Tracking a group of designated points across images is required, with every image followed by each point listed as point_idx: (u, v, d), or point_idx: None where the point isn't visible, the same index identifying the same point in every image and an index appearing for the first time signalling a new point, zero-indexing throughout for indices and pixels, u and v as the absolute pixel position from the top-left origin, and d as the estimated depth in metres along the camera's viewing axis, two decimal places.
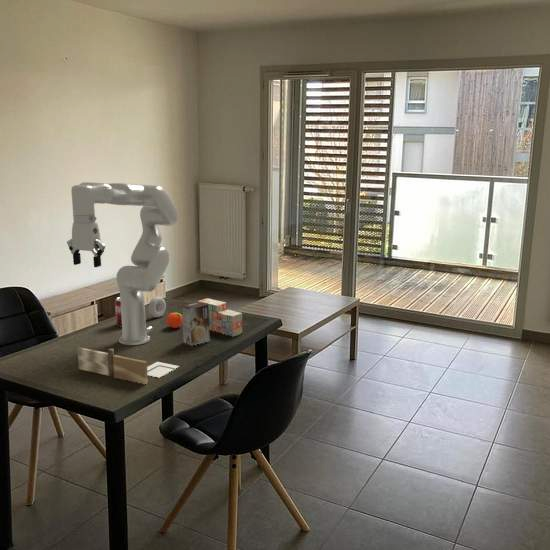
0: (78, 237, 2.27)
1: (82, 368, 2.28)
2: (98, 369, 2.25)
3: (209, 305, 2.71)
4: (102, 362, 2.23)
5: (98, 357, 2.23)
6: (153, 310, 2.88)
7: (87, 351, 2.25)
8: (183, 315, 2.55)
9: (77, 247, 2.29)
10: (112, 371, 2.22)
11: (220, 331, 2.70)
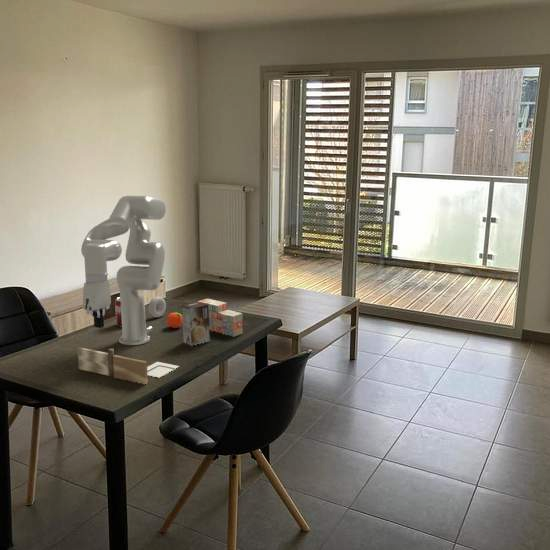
0: (100, 296, 2.24)
1: (82, 368, 2.28)
2: (98, 369, 2.25)
3: (209, 305, 2.71)
4: (102, 362, 2.23)
5: (98, 357, 2.23)
6: (153, 310, 2.88)
7: (87, 351, 2.25)
8: (183, 315, 2.55)
9: (98, 307, 2.24)
10: (112, 371, 2.22)
11: (220, 331, 2.69)
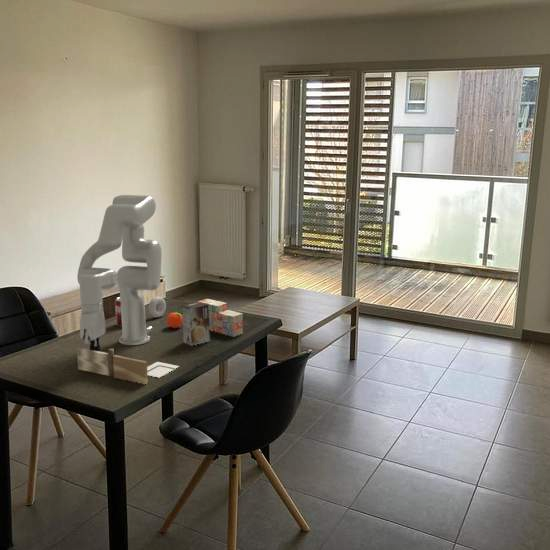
0: (97, 325, 2.24)
1: (81, 368, 2.28)
2: (97, 369, 2.25)
3: (209, 305, 2.71)
4: (102, 362, 2.23)
5: (98, 357, 2.23)
6: (153, 310, 2.88)
7: (87, 351, 2.25)
8: (183, 315, 2.55)
9: (95, 336, 2.24)
10: (112, 371, 2.22)
11: (221, 331, 2.69)
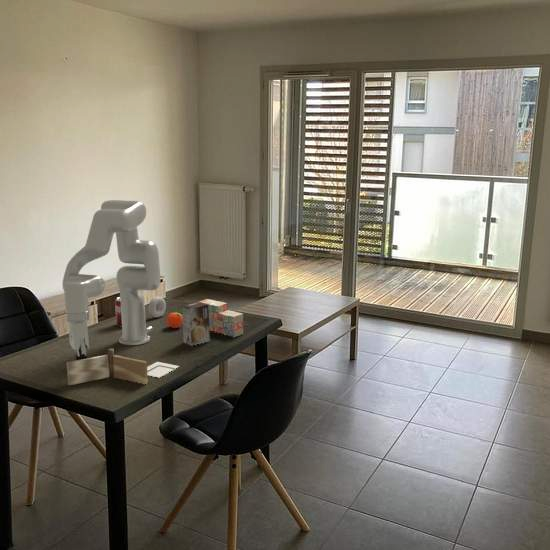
0: None
1: (74, 382, 2.15)
2: (96, 376, 2.19)
3: (210, 306, 2.70)
4: (101, 366, 2.20)
5: (97, 362, 2.18)
6: (153, 310, 2.88)
7: (81, 361, 2.15)
8: (183, 315, 2.55)
9: None
10: (112, 371, 2.22)
11: (221, 332, 2.69)
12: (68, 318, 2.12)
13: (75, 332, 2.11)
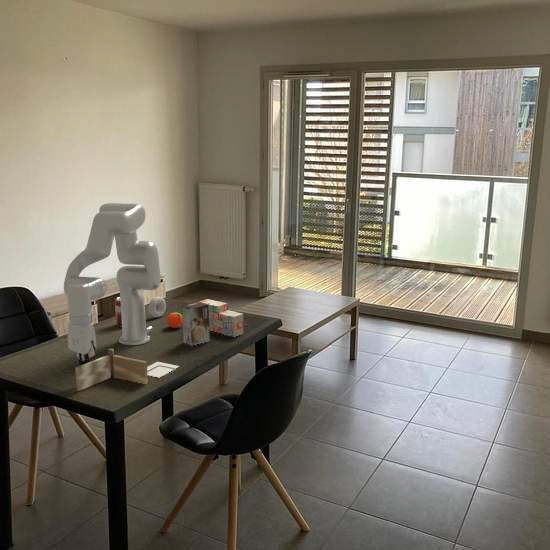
0: None
1: (83, 387, 2.12)
2: (100, 377, 2.18)
3: (210, 306, 2.70)
4: (104, 367, 2.19)
5: (101, 364, 2.17)
6: (153, 310, 2.88)
7: (89, 365, 2.12)
8: (183, 315, 2.55)
9: None
10: (112, 371, 2.22)
11: (221, 332, 2.69)
12: (75, 322, 2.08)
13: (85, 335, 2.08)
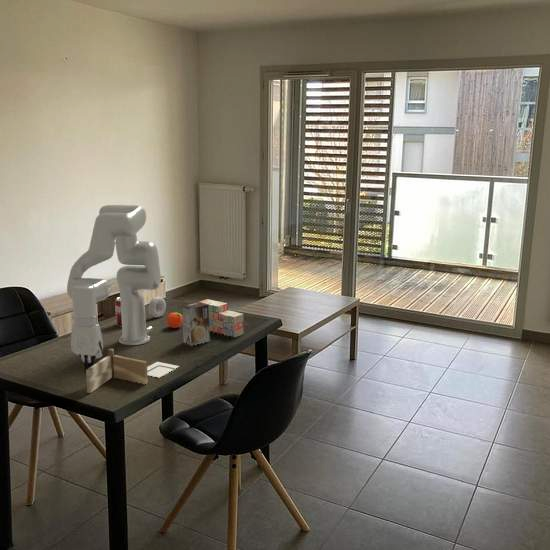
0: None
1: (93, 389, 2.10)
2: (105, 378, 2.17)
3: (210, 306, 2.70)
4: (107, 367, 2.18)
5: (105, 364, 2.17)
6: (153, 310, 2.88)
7: (96, 366, 2.11)
8: (183, 315, 2.55)
9: None
10: (112, 371, 2.22)
11: (221, 332, 2.68)
12: (82, 324, 2.06)
13: (94, 336, 2.07)
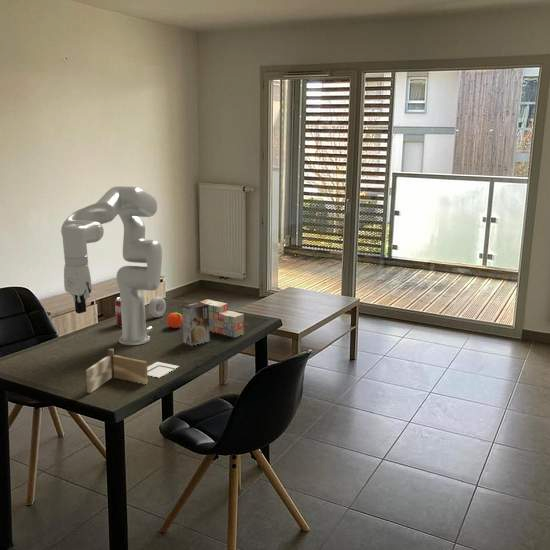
0: None
1: (93, 389, 2.10)
2: (105, 378, 2.17)
3: (210, 306, 2.70)
4: (107, 367, 2.18)
5: (105, 364, 2.17)
6: (153, 310, 2.88)
7: (97, 366, 2.11)
8: (183, 315, 2.55)
9: None
10: (112, 371, 2.22)
11: (221, 332, 2.68)
12: (70, 263, 2.10)
13: (80, 276, 2.10)
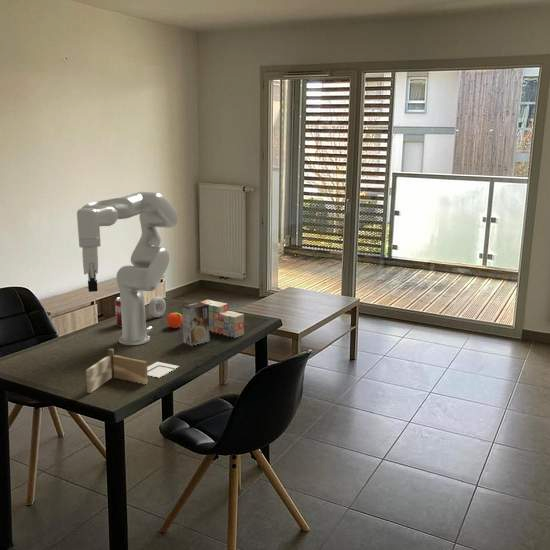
0: None
1: (93, 389, 2.10)
2: (105, 378, 2.17)
3: (210, 306, 2.69)
4: (107, 367, 2.18)
5: (105, 364, 2.17)
6: (153, 310, 2.88)
7: (97, 366, 2.11)
8: (183, 315, 2.55)
9: None
10: (112, 371, 2.22)
11: (222, 332, 2.68)
12: (80, 243, 2.26)
13: (85, 256, 2.25)
